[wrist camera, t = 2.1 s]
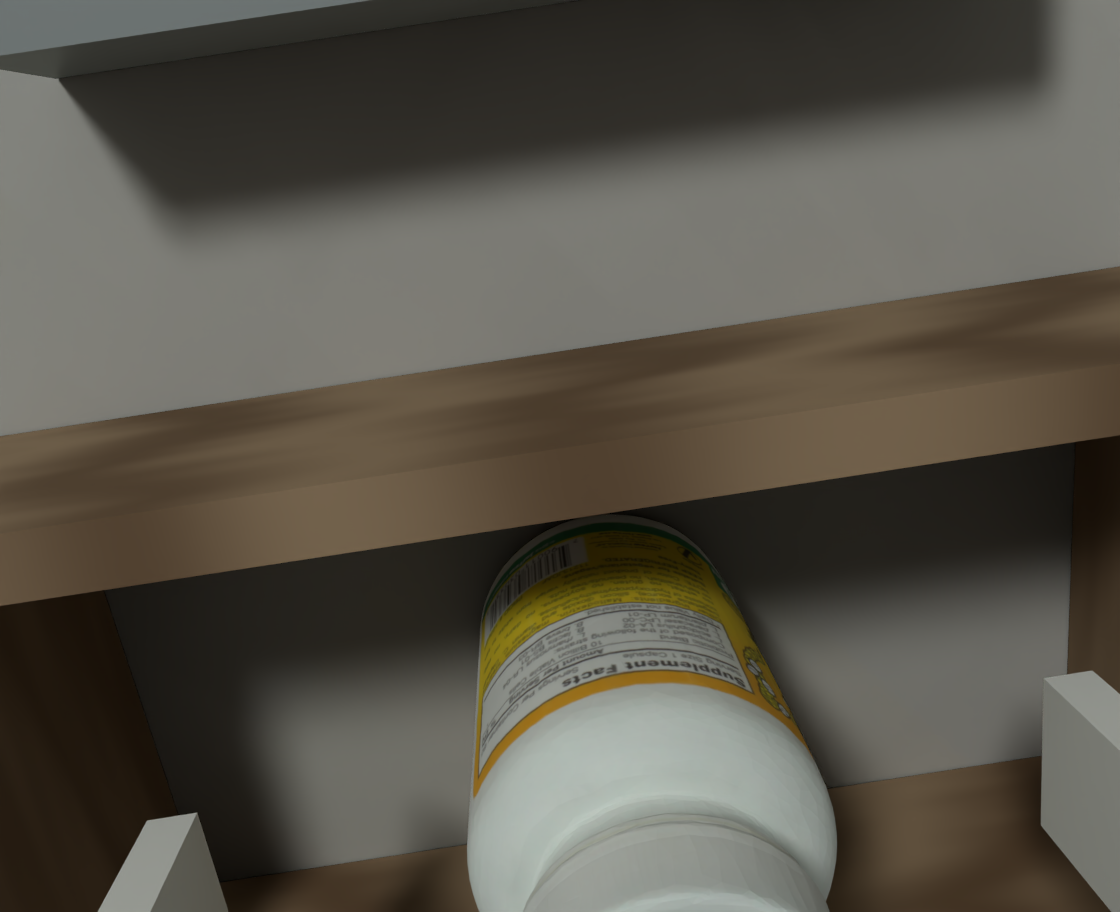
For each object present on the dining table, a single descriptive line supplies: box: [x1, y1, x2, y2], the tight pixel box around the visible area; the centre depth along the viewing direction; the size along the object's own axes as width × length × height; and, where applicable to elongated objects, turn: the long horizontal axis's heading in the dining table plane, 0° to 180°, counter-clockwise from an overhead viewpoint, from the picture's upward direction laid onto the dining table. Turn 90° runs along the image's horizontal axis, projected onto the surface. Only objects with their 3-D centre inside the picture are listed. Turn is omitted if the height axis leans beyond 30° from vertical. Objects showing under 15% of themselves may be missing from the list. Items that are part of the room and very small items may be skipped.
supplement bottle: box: [467, 515, 837, 912], centre depth 15 cm, size 5×5×10 cm
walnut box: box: [0, 267, 1120, 912], centre depth 17 cm, size 22×12×6 cm, turn 98°
